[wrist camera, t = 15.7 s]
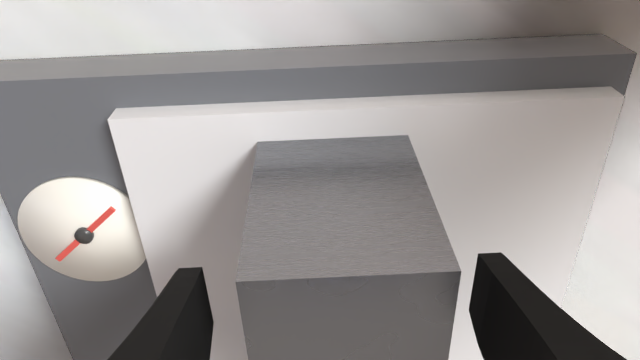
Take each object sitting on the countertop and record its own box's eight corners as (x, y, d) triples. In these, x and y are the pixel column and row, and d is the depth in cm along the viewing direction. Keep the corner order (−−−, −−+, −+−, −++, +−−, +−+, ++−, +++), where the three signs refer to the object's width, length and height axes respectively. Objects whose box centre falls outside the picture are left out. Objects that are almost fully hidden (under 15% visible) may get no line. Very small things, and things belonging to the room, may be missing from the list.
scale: (111, 378, 25) (92, 432, 23) (-12, 60, 16) (-65, 93, 14) (518, 358, 25) (541, 410, 23) (602, 34, 17) (652, 62, 14)
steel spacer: (270, 257, 18) (258, 418, 12) (257, 141, 15) (235, 282, 10) (400, 251, 18) (440, 408, 13) (407, 134, 15) (461, 271, 10)
